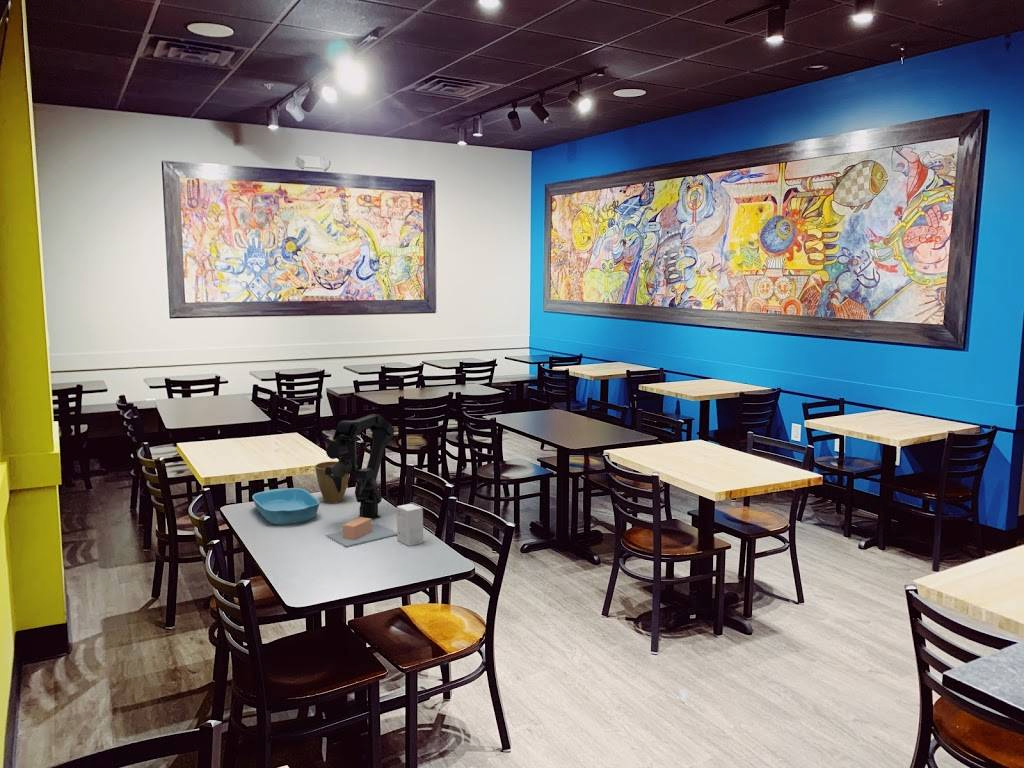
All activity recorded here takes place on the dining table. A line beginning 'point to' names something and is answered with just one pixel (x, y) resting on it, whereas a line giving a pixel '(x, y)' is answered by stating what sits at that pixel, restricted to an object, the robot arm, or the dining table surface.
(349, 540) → the mat
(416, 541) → the small box
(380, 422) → the robot arm
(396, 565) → the dining table surface
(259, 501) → the casserole dish
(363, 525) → the block
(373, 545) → the dining table surface
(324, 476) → the plant pot
